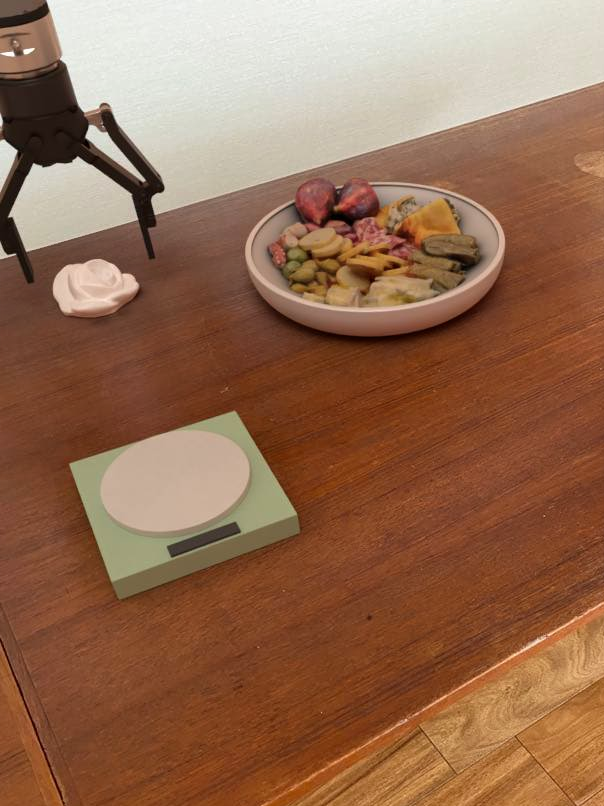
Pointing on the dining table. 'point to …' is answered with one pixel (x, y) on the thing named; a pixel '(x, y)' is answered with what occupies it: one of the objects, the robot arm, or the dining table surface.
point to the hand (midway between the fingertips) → (91, 265)
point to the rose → (93, 289)
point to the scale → (181, 503)
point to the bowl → (374, 256)
